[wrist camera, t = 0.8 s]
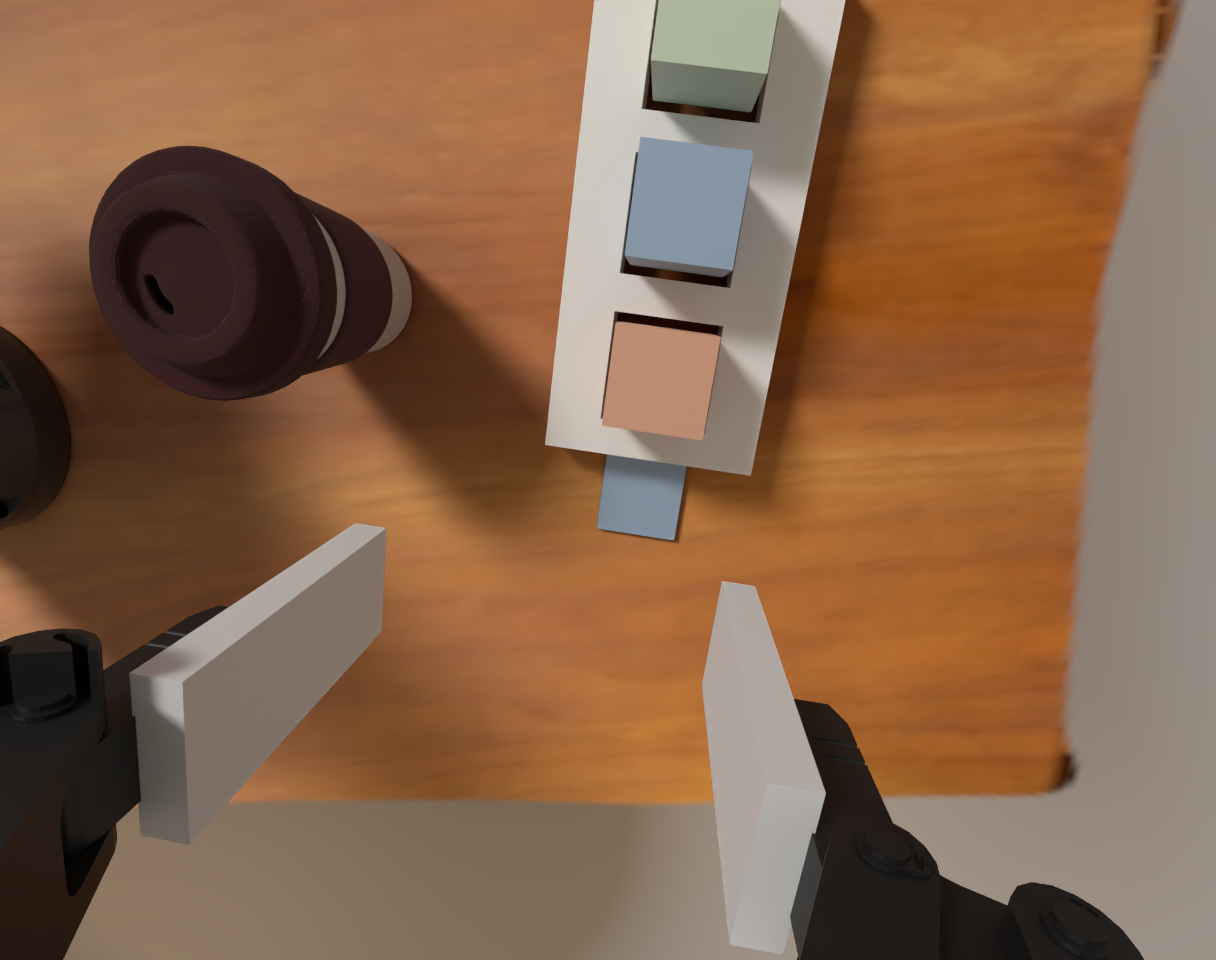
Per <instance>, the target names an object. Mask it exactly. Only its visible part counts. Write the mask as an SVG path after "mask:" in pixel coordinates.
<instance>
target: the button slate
mask: <svg viewBox="0 0 1216 960" xmlns="http://www.w3.org/2000/svg"><path fill="white" fill-rule="evenodd" d="M753 152H754V151H750V150H742V149H735V148H727V147H719V146H711V145H703V144H695V143H687V142H679V141H671V140H663V139H655V138H647V137H640V144H639V151H638V159H637V166H636V174H635V181H634V188H633V196H632V203H631V211H630V218H629V226H628V233H627V241H626V248H625V257H626V259H627V260H628V262H629V264H630V265H635V266H642V267H649V268H657V269H664V270H672V271H679V272H686V273H694V274H701V275H708V276H716V277H724V276H725V275H727V274H728V273H729V272H731V271H732V270H733V266H734V260H735V254H736V249H737V243H738V237H739V232H740V226H741V220H742V215H743V209H744V203H745V198H746V192H747V186H748V181H749V175H750V169H751V164H752V158H753Z"/></svg>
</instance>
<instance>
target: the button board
mask: <svg viewBox="0 0 1216 960" xmlns="http://www.w3.org/2000/svg"><path fill="white" fill-rule="evenodd" d="M845 1H846V0H780V5H779V11H778V16H777V22H776V28H775V33H774V39H773V45H772V50H771V56H770V62H769V67H768V73H767V76H766V78H765V81H764V83H763V85H762V88H761V90H760V95H759V100H758V106H757V112H756V118H755V123H752V122H744V121H736V120H728V119H720V118H712V117H703V116H695V115H687V114H679V113H671V112H663V111H655V110H647V109H646V103H647V95H648V88H649V80H650V73H651V54H652V46H653V39H654V32H655V24H656V17H657V9H658V2H659V0H594V9H593V18H592V27H591V36H590V45H589V54H588V63H587V72H586V81H585V90H584V99H583V108H582V117H581V126H580V135H579V144H578V153H577V162H576V171H575V180H574V189H573V198H572V207H571V216H570V225H569V234H568V243H567V252H566V261H565V270H564V279H563V288H562V297H561V306H560V315H559V324H558V333H557V342H556V351H555V360H554V369H553V378H552V387H551V396H550V405H549V414H548V423H547V432H546V440H545V445H549V446H556V447H563V448H569V449H576V450H583V451H589V452H596V453H602V454H609V455H616V456H622V457H629V458H636V459H642V460H649V461H655V462H662V463H669V464H675V465H682V466H689V467H695V468H702V469H709V470H715V471H722V472H728V473H735V474H742V475H748V476H751V472H752V467H753V462H754V457H755V452H756V447H757V442H758V437H759V432H760V427H761V422H762V417H763V412H764V407H765V402H766V397H767V392H768V387H769V382H770V377H771V372H772V367H773V362H774V357H775V351H776V346H777V341H778V336H779V331H780V326H781V321H782V316H783V311H784V306H785V301H786V296H787V291H788V286H789V281H790V276H791V271H792V266H793V261H794V256H795V251H796V246H797V241H798V236H799V231H800V226H801V221H802V216H803V211H804V206H805V201H806V196H807V191H808V186H809V181H810V176H811V171H812V166H813V161H814V156H815V151H816V146H817V141H818V136H819V131H820V126H821V121H822V116H823V111H824V106H825V101H826V96H827V91H828V86H829V81H830V76H831V71H832V66H833V61H834V56H835V51H836V46H837V41H838V36H839V31H840V26H841V21H842V16H843V11H844V6H845ZM640 137H647V138H655V139H663V140H671V141H679V142H687V143H695V144H703V145H711V146H719V147H727V148H735V149H742V150H750V151H754V152H753V158H752V164H751V169H750V175H749V181H748V186H747V192H746V198H745V203H744V209H743V215H742V220H741V226H740V232H739V237H738V243H737V249H736V254H735V260H734V266H733V270H732V271H731V272H729V273H728V278H727V283H726V287H718V286H711V285H704V284H696V283H689V282H682V281H674V280H667V279H660V278H652V277H645V276H638V275H630V274H624V266H625V259H626V257H625V248H626V241H627V233H628V226H629V218H630V211H631V203H632V196H633V188H634V181H635V174H636V166H637V159H638V151H639V144H640ZM618 312H624V313H632V314H639V315H646V316H653V317H660V318H667V319H675V320H682V321H689V322H696V323H703V324H711V325H718V326H719V329H718V335H717V336H720V337H721V339H720V345H719V350H718V356H717V362H716V367H715V373H714V379H713V384H712V390H711V396H710V401H709V407H708V413H707V418H706V424H705V430H704V435H703V441H702V440H695V439H689V438H682V437H675V436H668V435H662V434H655V433H648V432H641V431H635V430H628V429H621V428H614V427H608V426H602V420H603V413H604V405H605V398H606V390H607V383H608V375H609V368H610V360H611V353H612V345H613V338H614V331H615V323H616V322H617V318H618Z"/></svg>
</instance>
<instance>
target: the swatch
mask: <svg viewBox="0 0 1216 960" xmlns="http://www.w3.org/2000/svg"><path fill="white" fill-rule="evenodd" d="M686 468H687V466H682V465H675V464H669V463H662V462H655V461H649V460H642V459H636V458H629V457H622V456H616V455H609V454H607V457H606V464H605V472H604V479H603V486H602V493H601V501H600V508H599V515H598V523H597V529H604V530H610V531H616V532H623V533H629V534H636V535H642V536H648V537H655V538H661V539H668V540H674V538H675V532H676V526H677V520H678V514H679V509H680V503H681V497H682V491H683V485H684V480H685V474H686Z"/></svg>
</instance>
